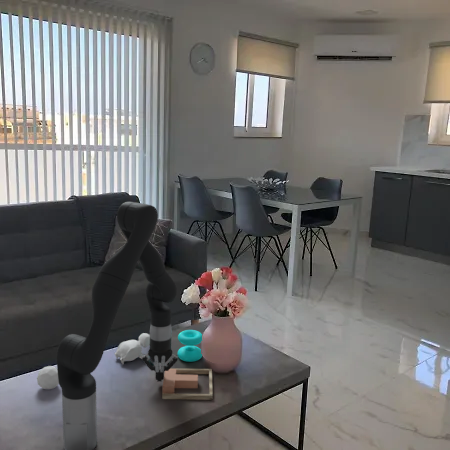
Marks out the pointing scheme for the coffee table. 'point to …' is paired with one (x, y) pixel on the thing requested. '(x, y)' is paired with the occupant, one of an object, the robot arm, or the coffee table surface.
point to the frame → (192, 396)
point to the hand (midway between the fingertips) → (159, 380)
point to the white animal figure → (132, 348)
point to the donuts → (190, 345)
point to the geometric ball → (48, 377)
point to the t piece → (178, 381)
